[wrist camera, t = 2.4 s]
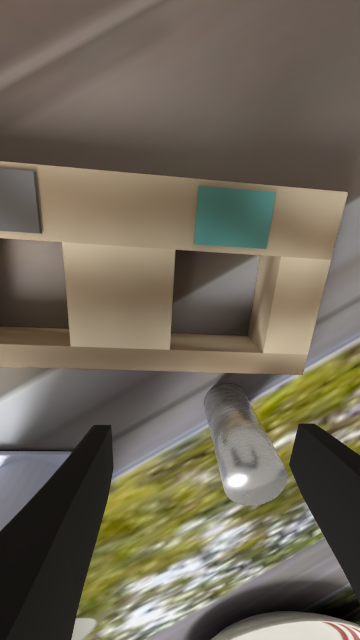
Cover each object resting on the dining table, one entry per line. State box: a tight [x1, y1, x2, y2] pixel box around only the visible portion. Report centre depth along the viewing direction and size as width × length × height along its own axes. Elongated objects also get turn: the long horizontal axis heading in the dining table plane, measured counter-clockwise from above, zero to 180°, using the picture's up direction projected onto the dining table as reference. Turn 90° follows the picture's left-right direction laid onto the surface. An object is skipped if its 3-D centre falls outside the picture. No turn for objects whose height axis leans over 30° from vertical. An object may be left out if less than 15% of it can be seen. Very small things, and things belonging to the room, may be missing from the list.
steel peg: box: [204, 383, 288, 506], centre depth 16 cm, size 4×4×7 cm
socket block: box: [0, 161, 348, 375], centre depth 15 cm, size 11×24×3 cm, turn 86°
